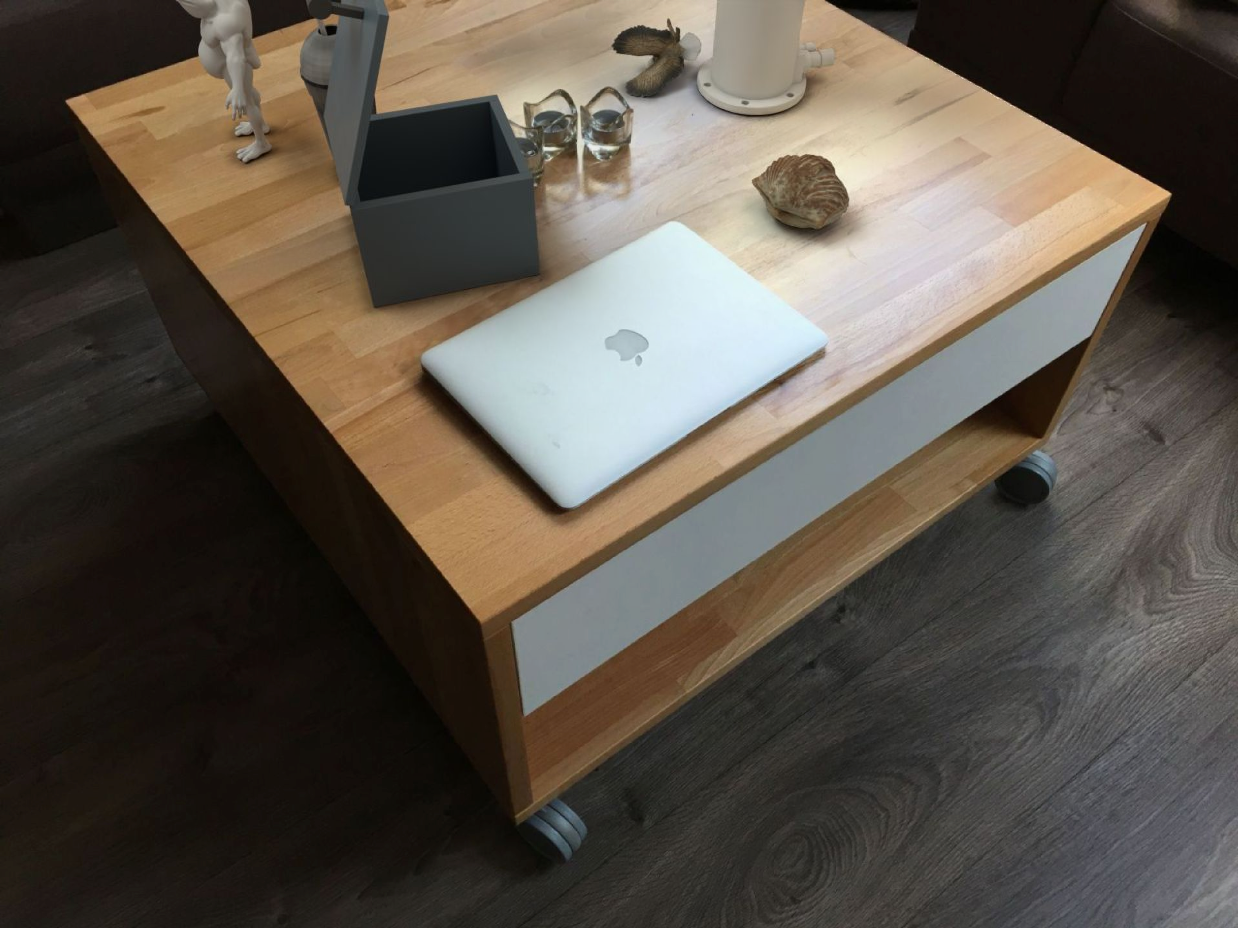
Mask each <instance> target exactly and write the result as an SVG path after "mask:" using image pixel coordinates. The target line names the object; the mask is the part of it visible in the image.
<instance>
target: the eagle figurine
mask: <svg viewBox="0 0 1238 928" xmlns="http://www.w3.org/2000/svg"><path fill="white" fill-rule="evenodd" d="M672 24H673V23H672V21H671V19H670V18H669V17H668V18H667V19H666V27H667V28H668V29H667V28H665V29H662V30H661V29H657V28H655V27H654V28H651V27H649V26H646V25H644V24H641V25H640V24H637V25H633V26H631V27H629V28H626V29H625V30H621V31H620V33H619V34H617V36H616V37H615V38H614V40H613V43H612V44H611V45H610V47H612V51H614V52H615V54H617V55H626V56H635V57H647V56H649V57H650V56H651V58H650V59H648V61H647V62H646V63H645V68H644V70H643V71H641V72H640V73H639V74H638V75H636V76H635V77H633V78H631V79H629V80H627V81H626V82H625V93H626V94H628V95H629V96H634V97H640V96H641V97H643V98H644V97H645V96H646V97H650V96H653V95H655V94H658V93H659V92H661V91H662V89H663V88H664V87H666V86H667V84H669V83H670V82H672V80H675V79H677V78H678V77H679V76H680V74H681V72H682V69H685V66H686V64H685V61H687V62H689V63H693V62H695V61H696V60H697V59H698V58H699V56H700V53H701V51H702V42H701V39H700V38H699V37H698V36H697V35H696V34H695V33H692V32H686V33H685V34H684V35H683V36H682V38H681V28H680V27H678V26H675V29H674V27H673V25H672Z"/></svg>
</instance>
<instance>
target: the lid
mask: <svg viewBox="0 0 1238 928" xmlns="http://www.w3.org/2000/svg"><path fill="white" fill-rule="evenodd" d="M305 1H306V6H307V9H308V10H307V11H308V14H309V15H310V16H311V17H312V18H314V19H319V20H322V21H323V20H326V19H328V18H329V17H330V16H332V15H335V16H338V19H337V25H338V26H337V32H336V39H335V45H334V52H333V59H332V65H331V72H330V78H329V85H328V91H327V98H326V104H325V111H324V119H325V123H326V128H327V132H328V136H329V140H330V145H331V149H332V153H333V156H332V158H333V157H334V159H333V162H334V165H335V170H336V174H337V178H338V182H339V187H340V191H341V195H342V199H343V200H342V201H343V204H344V206H347V207H349V206H354V203H355V198H356V193H357V187H358V182H359V176H360V171H361V166H362V160H363V155H364V150H365V144H366V139H367V134H368V128H369V123H370V117H371V112H372V107H373V101H374V96H375V97H376V90H377V84H378V79H379V75H380V68H381V63H382V58H383V53H384V48H385V43H386V37H387V31H388V27H389V20H390V14H389V11H388V7H387V5H386V3H385V2H386V1H385V0H340V2H335V1H332V0H305Z"/></svg>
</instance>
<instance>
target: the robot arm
mask: <svg viewBox="0 0 1238 928" xmlns="http://www.w3.org/2000/svg"><path fill="white" fill-rule="evenodd" d="M805 5H806V0H716V9H715V10H716V11H715V12H716V13H715V21H714V23H715V24H714V33H713V34H714V36H713V46H712V47H713V48H712V57H710V58H708V59H707V60H706V61H704V62H703V63H702V65H701V66H700V68H699V69H698V72H697V78H696V79H697V80H696V84H697V89H698V91H699V93H700V94H701V96H703V98H704V99H705V100H706V101H708V102H709V103H711V104H712V105H713V106H715V107H718V108H720V109H721V110H725V111H728V112H731V113H735V114H740V115H749V116H763V115H771V114H776V113H781V112H783V111H785V110H789V109H790V108H792V107H794V106H795V105H797V104H798V103H799V102H800V101H801V100H802V99H803V97H804V96H805V92H806V87H807V77H806V75H805V74H807V73H809V72H810V71H811V69H816V68H817V69H819V68H825V67H830V66H834V65H835V63H836V51H835V50H834V48H832V47H828V48H822V49H817V46H816V43H815V41H814V40H813V41H807V42H802V43H800V38H801V31H802V24H803V17H804V12H805Z"/></svg>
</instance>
